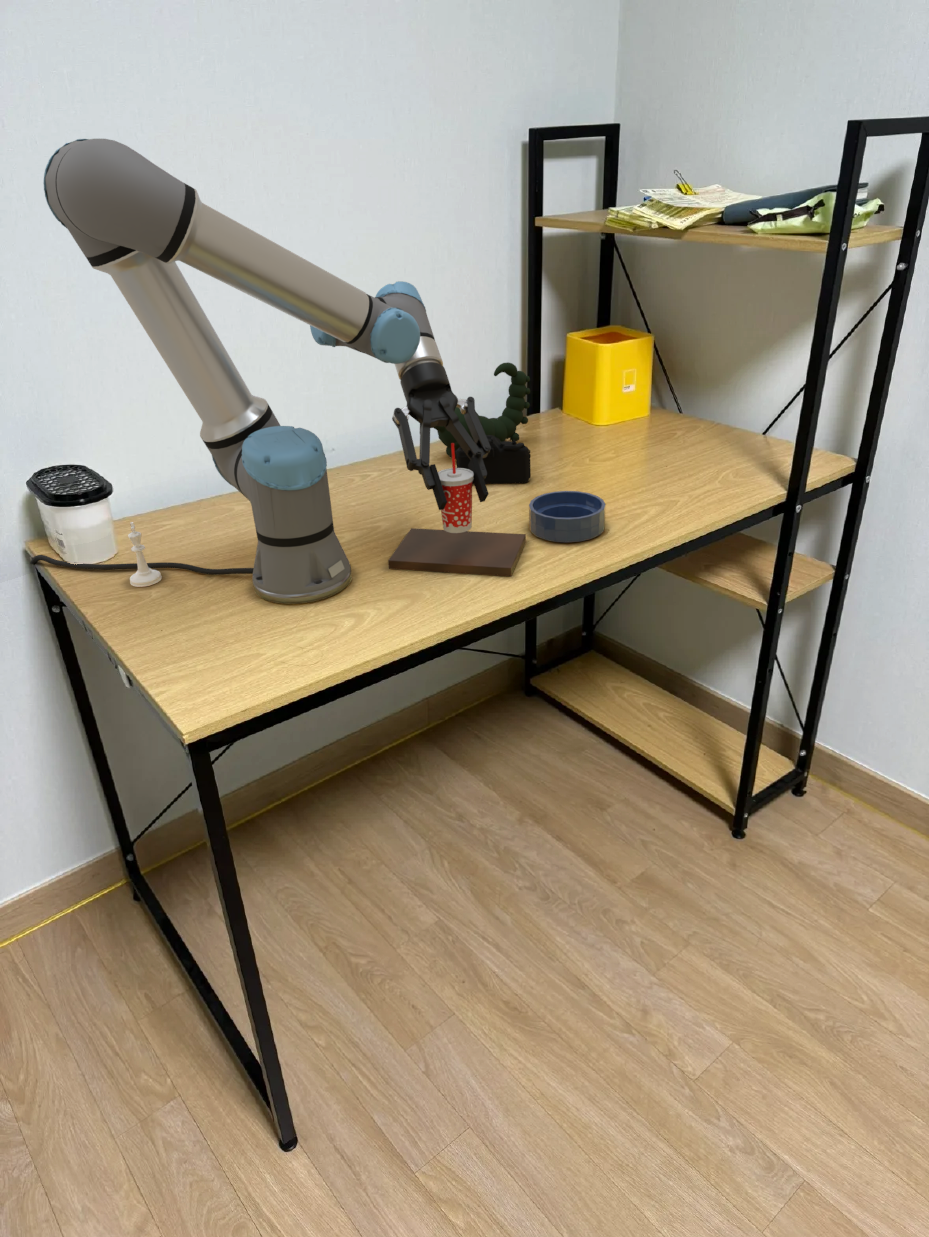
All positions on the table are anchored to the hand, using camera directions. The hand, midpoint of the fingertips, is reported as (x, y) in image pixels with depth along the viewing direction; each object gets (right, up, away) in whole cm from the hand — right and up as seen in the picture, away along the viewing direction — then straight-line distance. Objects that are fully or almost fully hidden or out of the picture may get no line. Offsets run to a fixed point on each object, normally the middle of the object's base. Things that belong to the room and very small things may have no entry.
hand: (463, 501), depth 135 cm
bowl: (+18, -3, +15) cm, 24 cm away
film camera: (+6, +10, +40) cm, 42 cm away
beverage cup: (-1, -3, +6) cm, 7 cm away
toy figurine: (+4, +18, +54) cm, 57 cm away
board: (-1, -8, +8) cm, 11 cm away
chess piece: (-51, -12, +5) cm, 53 cm away
